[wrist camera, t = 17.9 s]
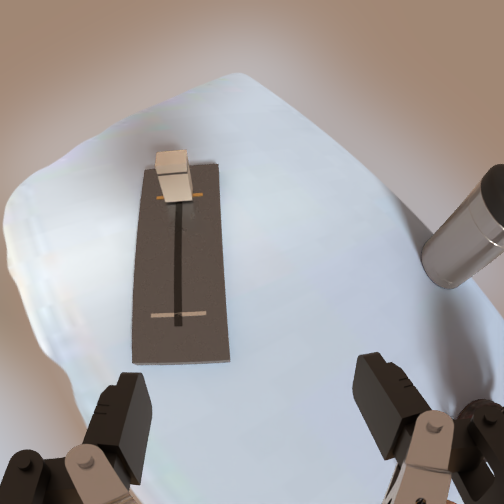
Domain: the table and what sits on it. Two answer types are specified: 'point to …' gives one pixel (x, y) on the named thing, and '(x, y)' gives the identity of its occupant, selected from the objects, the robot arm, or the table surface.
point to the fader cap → (174, 175)
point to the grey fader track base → (180, 275)
